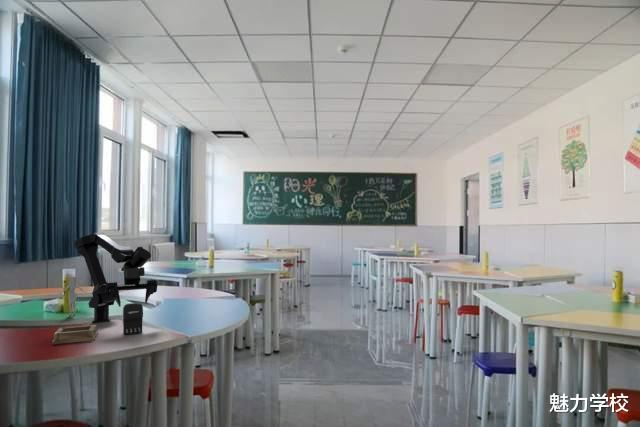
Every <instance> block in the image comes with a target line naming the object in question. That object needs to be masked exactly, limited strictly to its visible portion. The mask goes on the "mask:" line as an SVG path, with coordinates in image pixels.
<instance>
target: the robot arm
mask: <svg viewBox="0 0 640 427" xmlns="http://www.w3.org/2000/svg"><path fill="white" fill-rule="evenodd" d="M74 247H75V249H76V251H77V253H78V254H79V255H81V256H82V257H83V258H84V261H85V263H86V266H87V269H88V272H89V275H90V278H91V281H92V284H93V288H92V289H93V290H92V293H91V294H92V297H91V299H90V300H89V302H88V308H89V309H93V318H92V319H93V320H91V321H92V322H91V323H102V322H110V320H111V318H109V317H110V306H114V305H115V303H116V304H117V305H118V307H121V303H122V302H121V298H120V292H119V291H138V290H145V296H144V304H145V305H147V303H148V300H149V298H150V296H151V295H153V294H154V293H157V291H158V284H159V283H158V280H157V279H146V282H145V283H140V282H141V277H145V274H146V273H145V267H144V265H145V264H146V263H147V262H148V261H149V260H150V259H151V258H152V254H151V252H150V251H149V250H147V249H145V248H143V246H137V247H136V249H135V250H133V249H131V248H130V247H127V246H123V245H120V244H118V243H117V242H115V241H114V240H113V239H111V238H110V237H108V236H107V235H106V234H105V233H104V232H93V233H90V234H88V235H84V236H81V237H77V239H76V240H75V241H74ZM99 247H101V248H103V249H104V250H105V251H107V252H108V253H109V254H110V257H111V259H112V260H113V261H114V262H115V263H116V264H122V263H123V265H122V267H121V269H120V271H121V272H123V284H118V281H113V282H107V280H106V277H105V274H104V272H103V269H102V266H101V262H100V259H99V257H98V255H97V252H98V250H99Z"/></svg>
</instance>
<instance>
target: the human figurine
mask: <svg viewBox="0 0 640 427" xmlns="http://www.w3.org/2000/svg"><path fill="white" fill-rule="evenodd" d="M68 281H69V282H68V283H69V284H68V285H67V286H66V287H65V289H62V291H61V292H60V293H59V294H58V295H57V298H58V297H59V296H60V295H62V294H63V293H65V292H66V290H68V289H70V290H69V292H68V295H67V297H68V302H69V304H68V306H69V316H70V315H71V316H75V315H76V301H77V297H78V293H77V291H76V288H78V289H79V290H80V291H82V292H84V293H85V294H86V295H88V293H87V292H86V291H85V290H84V289H83V288H81V287H80V286H79V285H78V284H77V276H70V277H69V280H68ZM72 306H73V313H72Z"/></svg>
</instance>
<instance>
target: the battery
mask: <svg viewBox="0 0 640 427" xmlns="http://www.w3.org/2000/svg"><path fill="white" fill-rule="evenodd" d="M143 317H144V306H143V304H142V302H141V303H140V302H132V303H130V302H129V303H126V304H124V305H123V307H122V326H123V327H122V334H123V335H126V336H128V335H135V334H141V333H143Z"/></svg>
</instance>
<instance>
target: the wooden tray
mask: <svg viewBox="0 0 640 427" xmlns="http://www.w3.org/2000/svg"><path fill="white" fill-rule="evenodd" d="M98 335H99V331H98V330H97V324H92V325H91V324H90V325H80V326H67V327H66V326H65V327H59V328H58V329H57V330H56V331H55V332H54V333H53V340H52V341H51V345H52V346H53V345H61V344H70V343H71V344H72V343H80V342H88V341H89V342H90V341H91V342H92V341H95V340H96V338H97V336H98Z"/></svg>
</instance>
